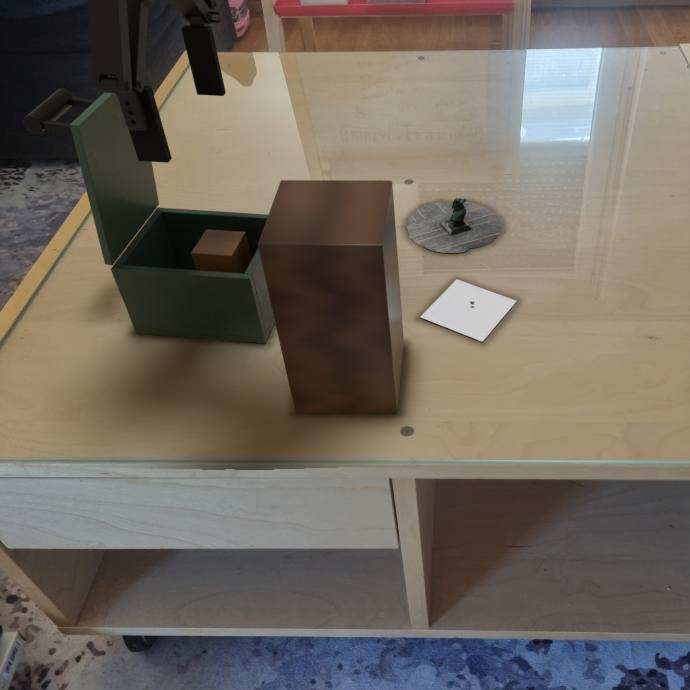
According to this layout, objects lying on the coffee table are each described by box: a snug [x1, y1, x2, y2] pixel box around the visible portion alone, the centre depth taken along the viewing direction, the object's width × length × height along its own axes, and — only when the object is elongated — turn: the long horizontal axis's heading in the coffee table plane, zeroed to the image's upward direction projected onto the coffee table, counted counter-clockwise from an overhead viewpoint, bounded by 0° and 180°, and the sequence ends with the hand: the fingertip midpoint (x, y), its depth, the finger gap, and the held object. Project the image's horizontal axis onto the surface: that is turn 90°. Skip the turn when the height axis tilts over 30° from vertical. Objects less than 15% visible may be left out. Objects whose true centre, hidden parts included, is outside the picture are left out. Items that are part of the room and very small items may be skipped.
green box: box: [110, 207, 275, 344], centre depth 82 cm, size 15×12×9 cm
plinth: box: [258, 179, 405, 415], centre depth 70 cm, size 10×10×20 cm
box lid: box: [22, 88, 160, 266], centre depth 74 cm, size 15×12×7 cm
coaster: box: [420, 278, 517, 343], centre depth 84 cm, size 8×8×1 cm
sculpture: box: [406, 197, 502, 254], centre depth 97 cm, size 12×9×8 cm
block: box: [191, 230, 252, 274], centre depth 82 cm, size 4×4×8 cm
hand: (185, 124), depth 70 cm, fingers open, 13 cm apart
